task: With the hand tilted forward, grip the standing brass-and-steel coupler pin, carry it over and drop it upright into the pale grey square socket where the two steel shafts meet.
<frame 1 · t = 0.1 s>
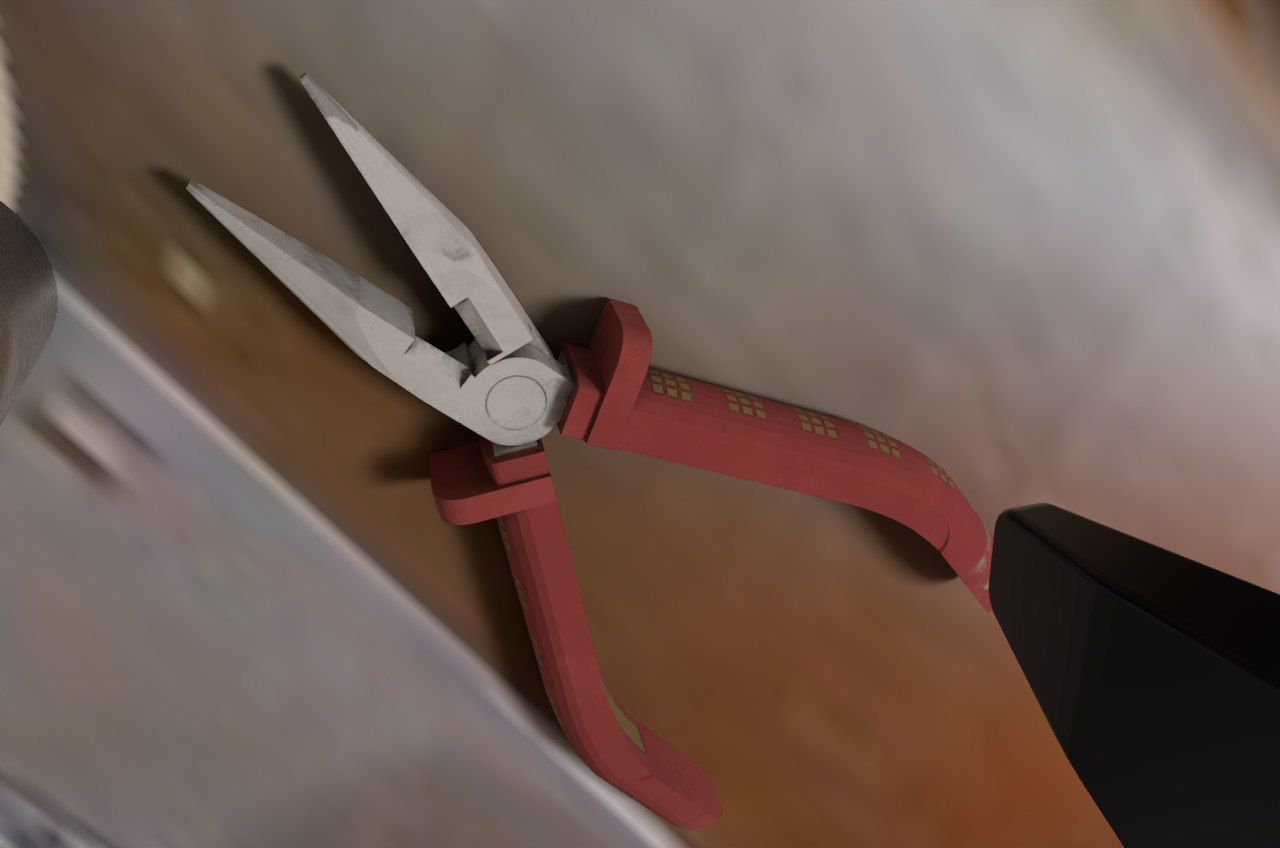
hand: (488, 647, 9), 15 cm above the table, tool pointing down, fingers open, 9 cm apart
pliers: (669, 430, 27), on the table
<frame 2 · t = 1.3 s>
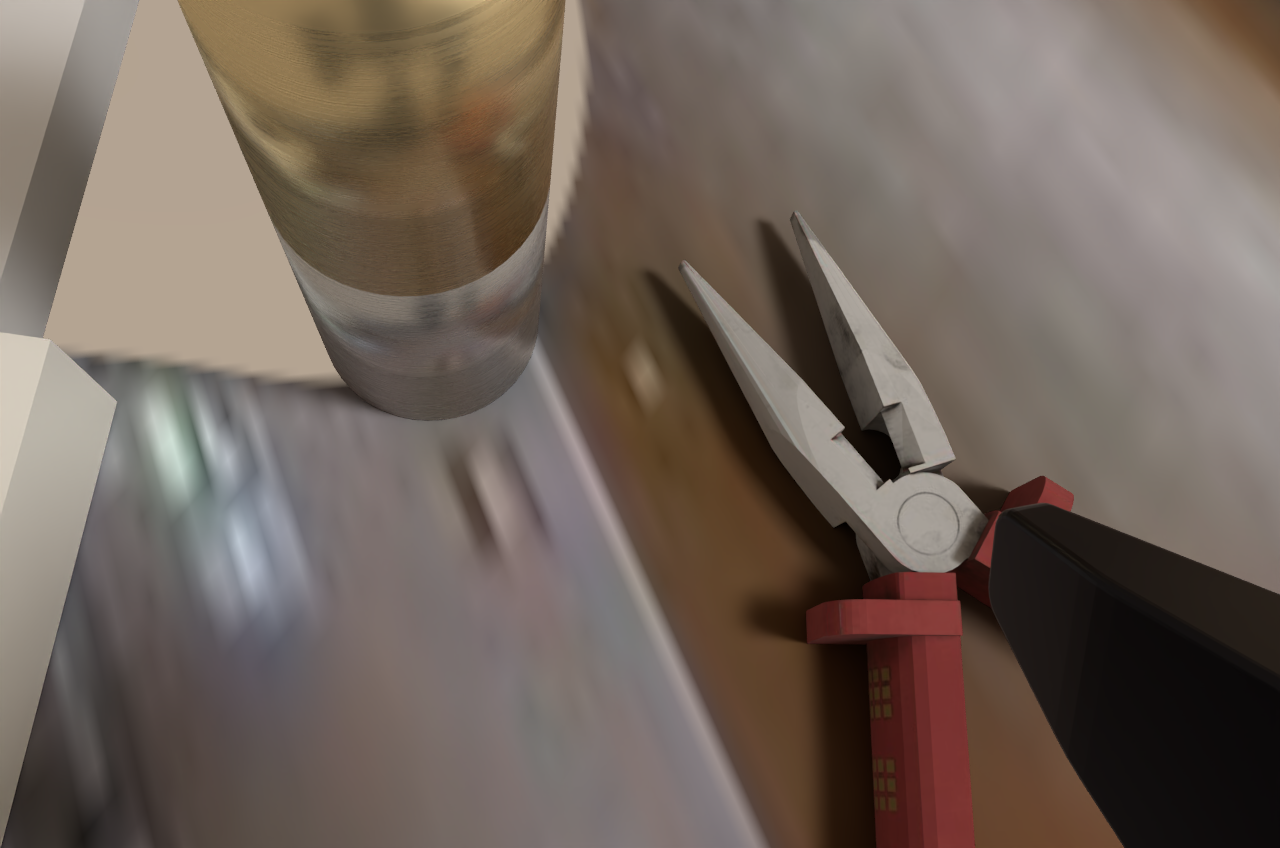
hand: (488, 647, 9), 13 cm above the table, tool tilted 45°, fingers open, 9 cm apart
pliers: (1053, 687, 24), on the table
coupler: (431, 318, 24), on the table
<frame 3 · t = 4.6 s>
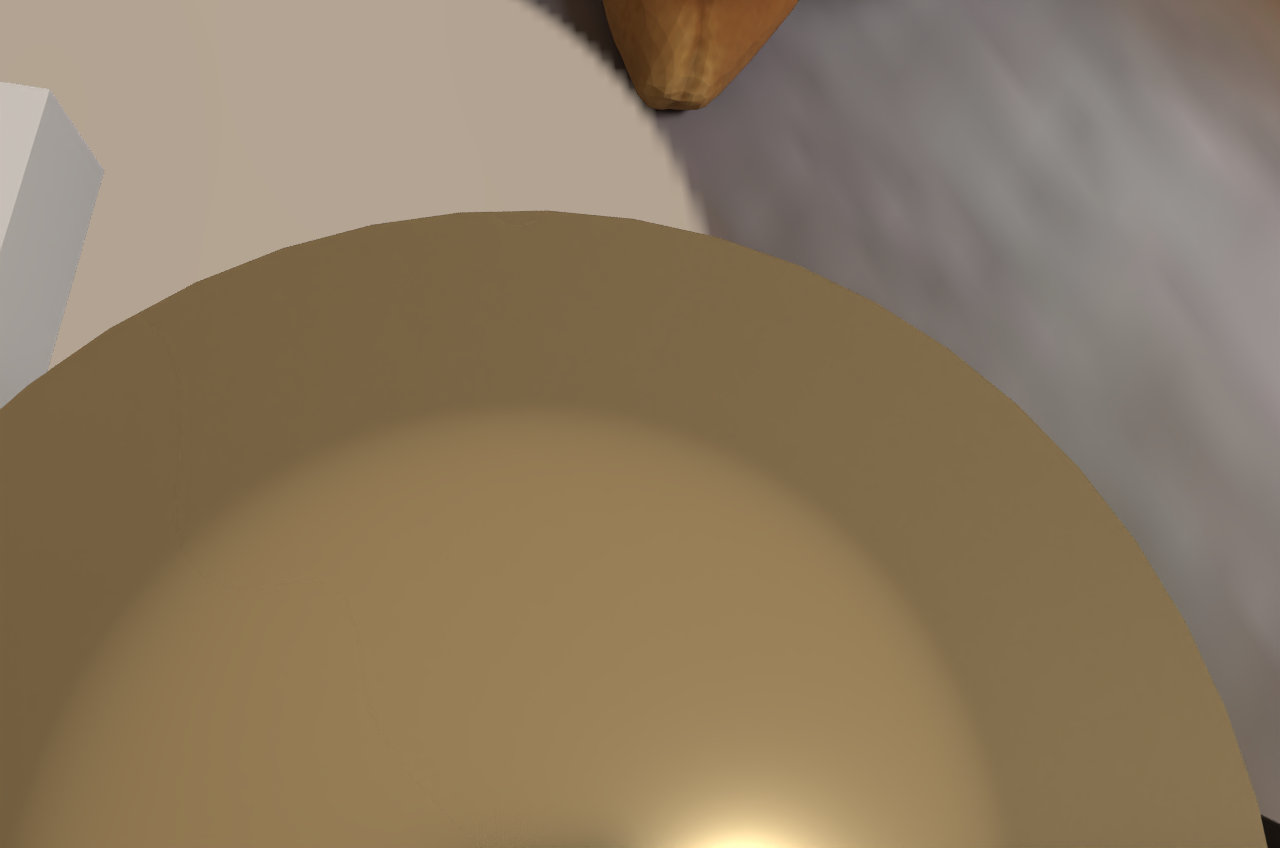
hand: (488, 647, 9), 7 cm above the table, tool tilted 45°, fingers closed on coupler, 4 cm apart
coupler: (510, 800, 16), on the table, touching gripper
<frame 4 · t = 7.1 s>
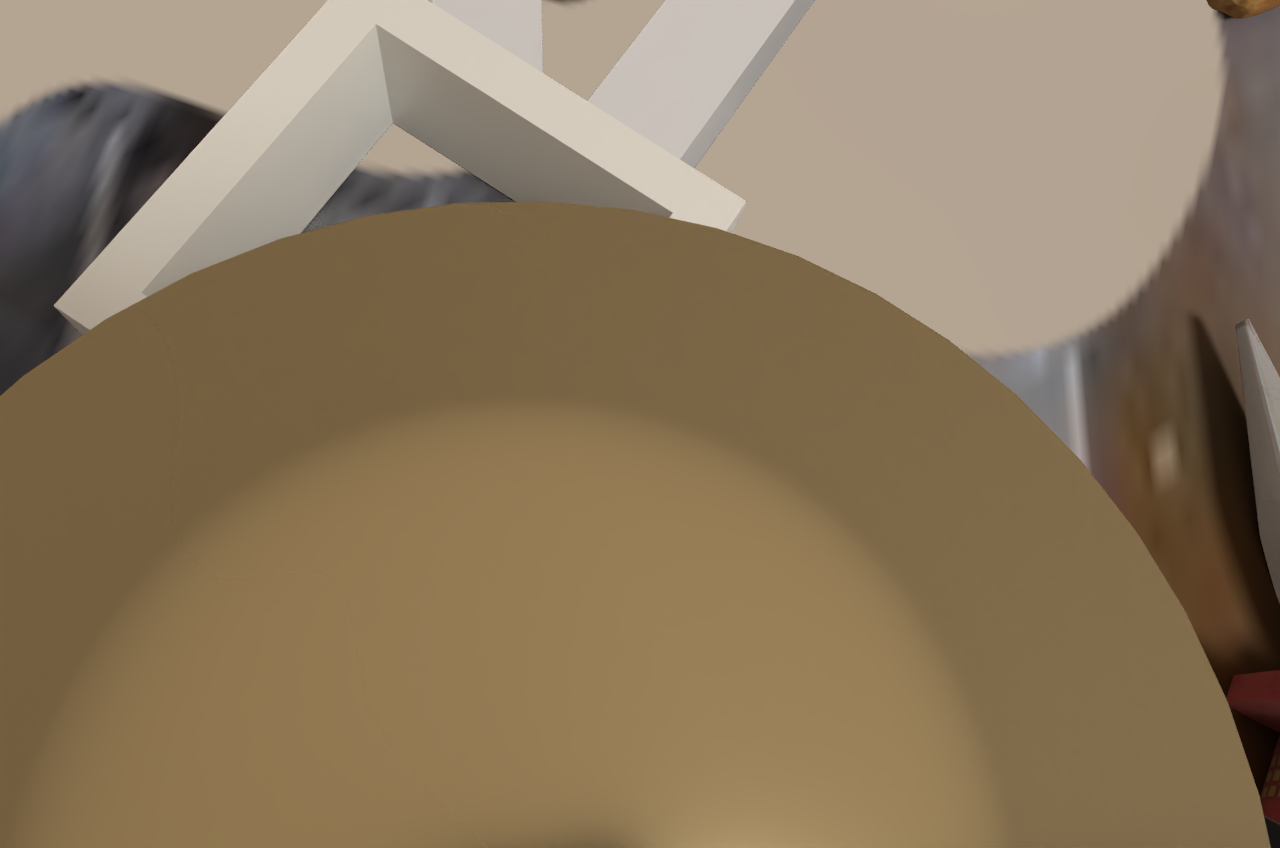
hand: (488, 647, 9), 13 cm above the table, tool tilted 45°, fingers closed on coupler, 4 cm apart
socket: (429, 322, 24), on the table
coupler: (510, 798, 16), point 6 cm above the table, touching gripper
when the fingers open (8 cm above the table, at t = 9.6 s): coupler drops 1 cm, resting in socket.
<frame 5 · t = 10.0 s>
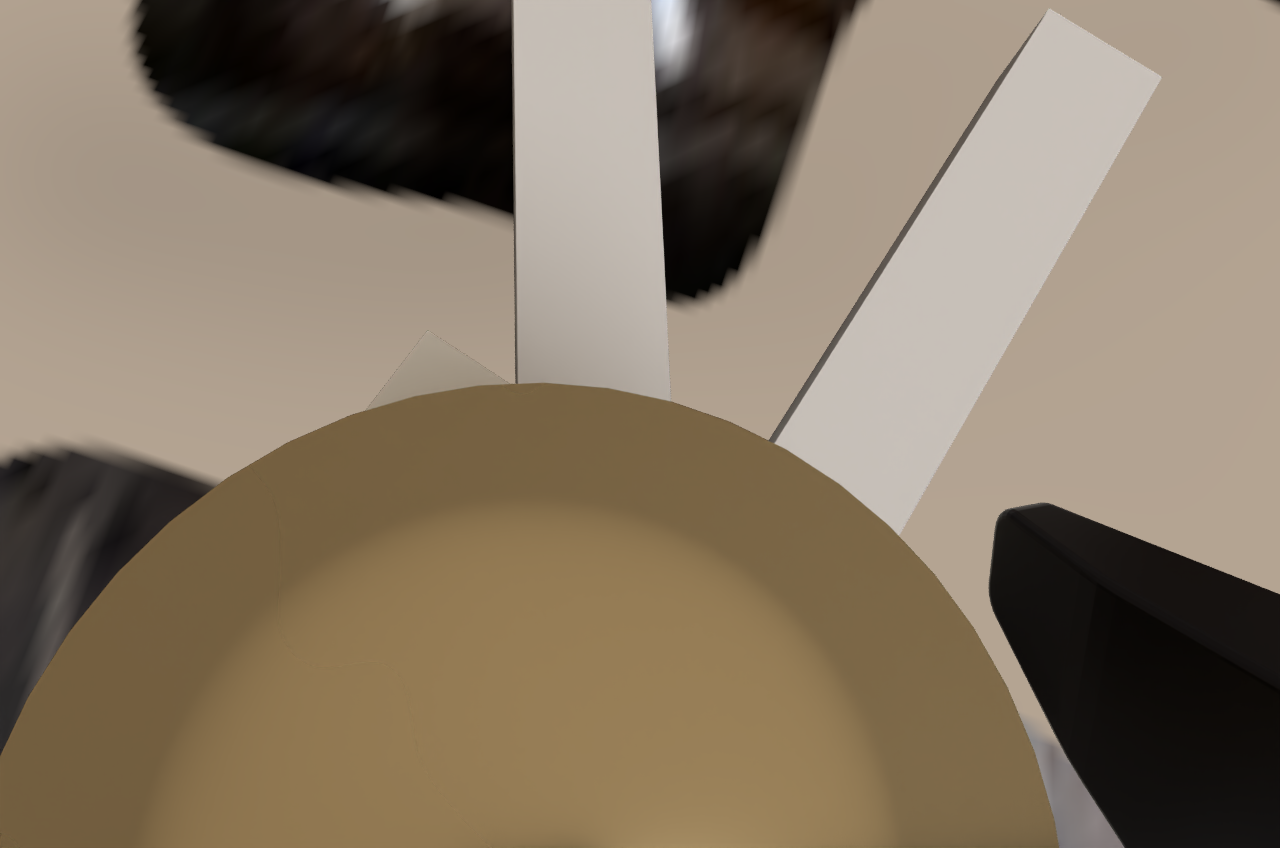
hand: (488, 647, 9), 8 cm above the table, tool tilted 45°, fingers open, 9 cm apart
socket: (510, 796, 17), on the table
coupler: (509, 801, 17), resting in socket
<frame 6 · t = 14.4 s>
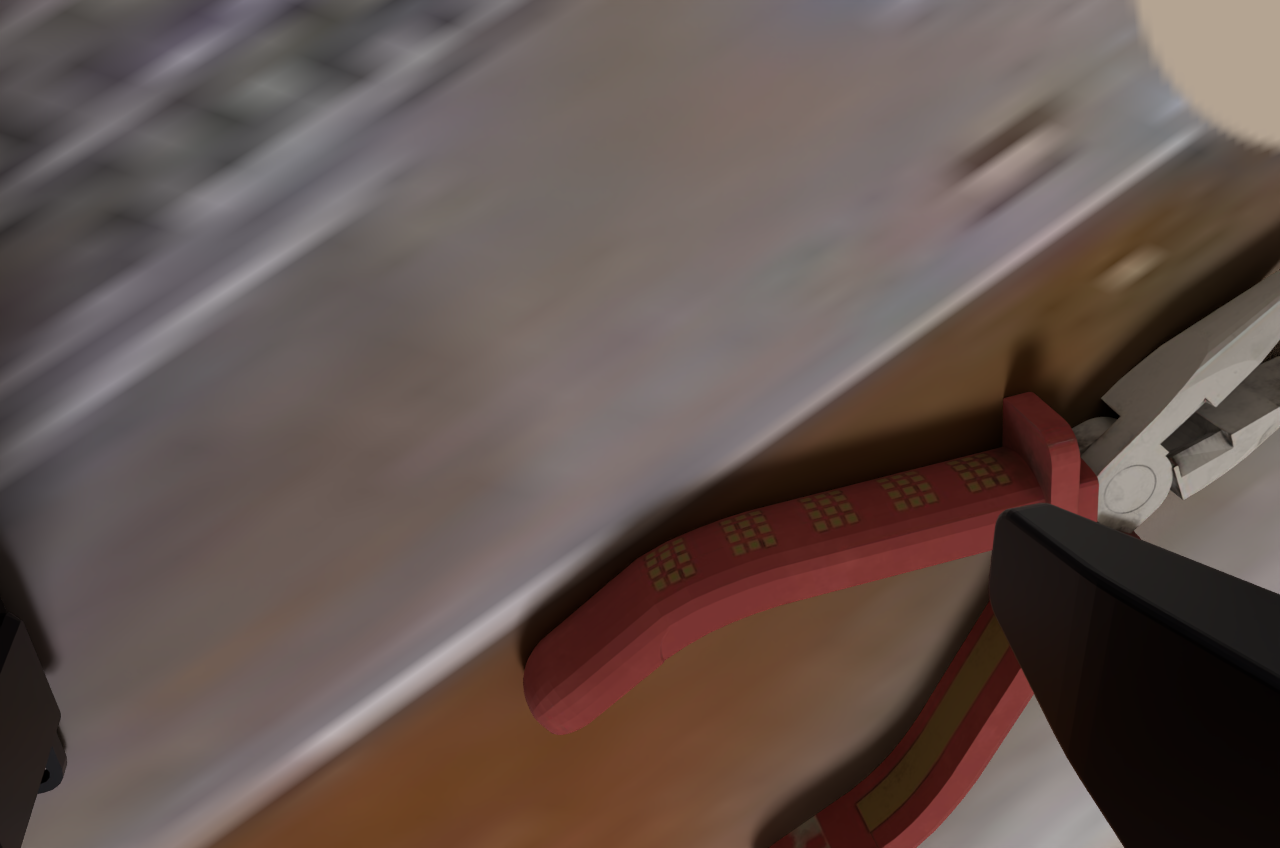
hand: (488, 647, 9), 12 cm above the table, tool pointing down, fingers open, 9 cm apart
pliers: (958, 581, 28), on the table
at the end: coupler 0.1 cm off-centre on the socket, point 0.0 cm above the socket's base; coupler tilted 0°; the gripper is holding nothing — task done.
